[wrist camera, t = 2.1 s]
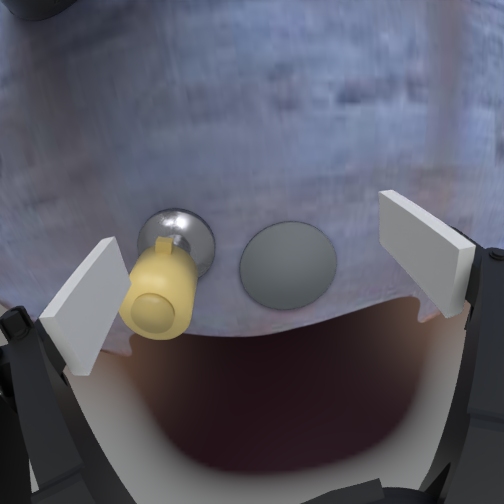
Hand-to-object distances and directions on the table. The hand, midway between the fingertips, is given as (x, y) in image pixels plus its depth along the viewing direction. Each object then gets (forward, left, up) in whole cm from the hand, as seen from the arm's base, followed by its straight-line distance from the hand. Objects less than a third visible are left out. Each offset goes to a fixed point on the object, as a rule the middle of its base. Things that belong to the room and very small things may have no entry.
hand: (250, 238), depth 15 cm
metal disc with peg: (-7, -12, -23) cm, 27 cm away
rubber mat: (+8, -13, -23) cm, 28 cm away
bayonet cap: (-7, -12, -16) cm, 21 cm away
